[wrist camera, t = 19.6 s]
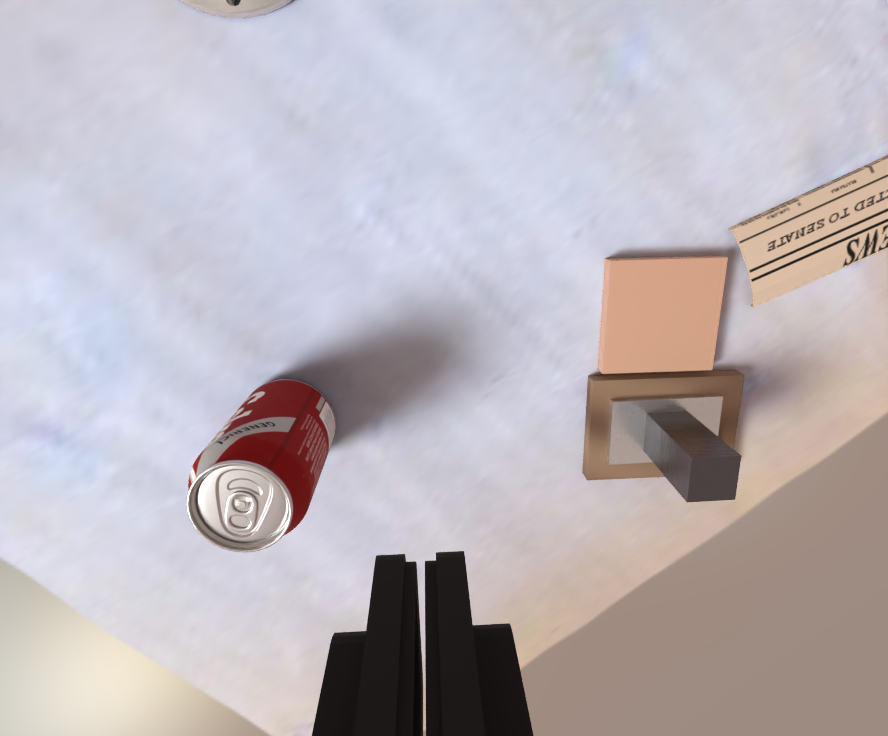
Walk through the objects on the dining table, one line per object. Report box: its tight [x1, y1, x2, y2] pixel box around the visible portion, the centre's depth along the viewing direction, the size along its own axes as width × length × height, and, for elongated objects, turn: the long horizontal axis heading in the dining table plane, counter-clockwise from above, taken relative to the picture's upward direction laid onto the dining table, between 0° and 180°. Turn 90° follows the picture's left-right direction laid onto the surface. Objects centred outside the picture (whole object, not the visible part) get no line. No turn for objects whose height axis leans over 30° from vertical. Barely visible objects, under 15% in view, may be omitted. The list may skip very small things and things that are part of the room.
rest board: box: [583, 370, 744, 480], centre depth 41 cm, size 8×11×1 cm
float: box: [607, 394, 741, 502], centre depth 37 cm, size 5×8×8 cm, turn 92°
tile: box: [597, 256, 728, 374], centre depth 38 cm, size 8×2×8 cm
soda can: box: [187, 379, 336, 552], centre depth 35 cm, size 7×7×12 cm
